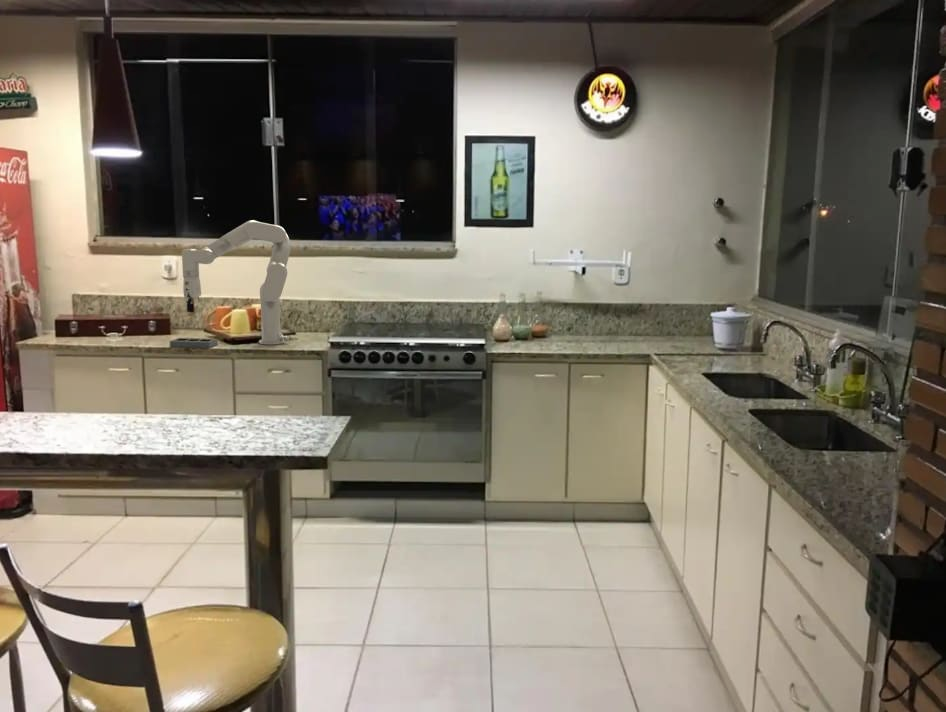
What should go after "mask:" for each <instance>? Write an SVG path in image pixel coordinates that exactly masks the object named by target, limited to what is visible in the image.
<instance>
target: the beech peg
mask: <svg viewBox="0 0 946 712" xmlns="http://www.w3.org/2000/svg"><path fill="white" fill-rule="evenodd" d="M188 297H190V296H188ZM190 300H191V299H190ZM193 304H194V312H187V311H186V316H188V317H196V316H197V317H198V316H199V314H200V313H199V298H198V297H196V298H193Z"/></svg>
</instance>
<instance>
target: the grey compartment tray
mask: <svg viewBox="0 0 946 712" xmlns="http://www.w3.org/2000/svg"><path fill="white" fill-rule="evenodd" d="M218 345H219V341H218V338H201V337H199V338H196V337H177V338H175V339H172V340H170V341H169V348H179V349H180V348H181V349H183V348H185V349H211V348H214V347H217V346H218Z"/></svg>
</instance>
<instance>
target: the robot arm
mask: <svg viewBox="0 0 946 712" xmlns="http://www.w3.org/2000/svg"><path fill="white" fill-rule="evenodd" d="M253 239H256V240H258V241H264V242H270V243H272V244H273V248H272V251H271V256H270V258H269V263H268V264H267V267H266V277H265V280H264V282H263V283H262V284H261V285H260V287H259V301H260V323H261V339H259V340H258V344H261V345H265V346H266V345H267V346H271V345H281V344H284V343H285V341H289V340H290V339H289V338H290V336H288V335H284V334H283V332H281V331H282V330H281V328H282V327H281V326H282V325H281V302H280V300H281V299H280V298H281V296H282V293H283V290H284V286H285V284H286V280H287V276H288V269H287V264H288V262H289V258H290V254H291V248H292V247H291V241H290V238H289V236H288V234H287V232H286V230H285V229H284V227H282V226H281V225H278V224H270V223H266V222H260V221H257V220H255V219H252V220H251V219H250V220H248V221H246V222H244V223H242V224H241V225H239V226H237V227H235V228H234V229H232V230H231V231H229V232H227V233H226V234H224V235H222V236H221V237H220V238H218V239H216V240H215V241H213V242H211V243H210V244H207V245H206V246H204V247H203V248H201V249H196V248H184V249H182V250H181V263H182V264H181V265H182V278H183V285H182V286H183V287H182V288H183V289H182V290H183V297H184V300H185V303H186V313H187V312H194V304H193V298H196V297H198V299H200V297H201V296H202V287H201V279H200V267H199V266H200V265H199V264H201V265H210V264H212V263H213V262H214V261H215V259H217V258H219V257H220V256H222V255H224V254H226V253H228V252H231V251H234V250H237V249H238V248H240V247H242V246H243V245H245V244H247V243H248V242H250V241H252V240H253ZM188 296H190V297H188ZM190 299H191V300H190Z"/></svg>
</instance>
